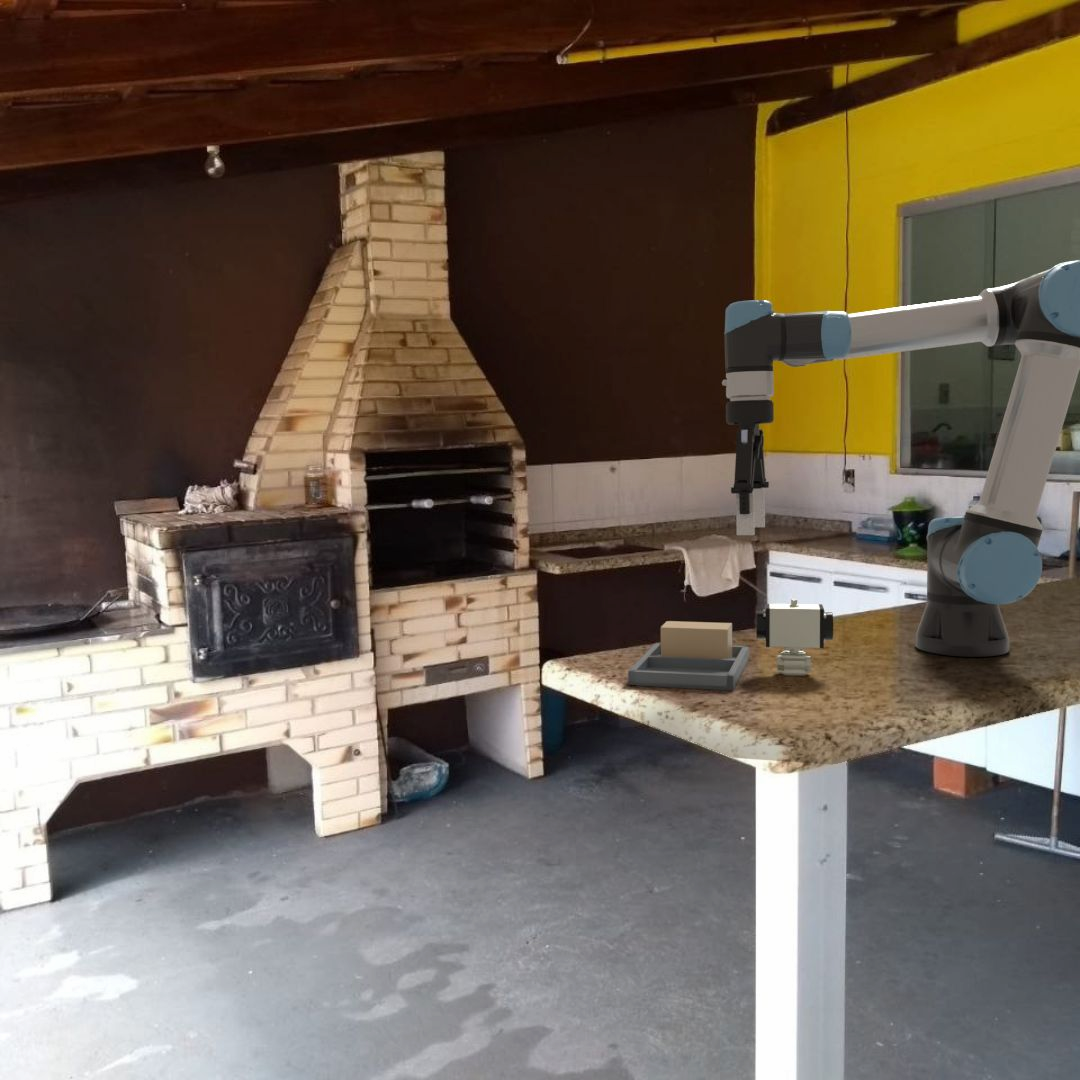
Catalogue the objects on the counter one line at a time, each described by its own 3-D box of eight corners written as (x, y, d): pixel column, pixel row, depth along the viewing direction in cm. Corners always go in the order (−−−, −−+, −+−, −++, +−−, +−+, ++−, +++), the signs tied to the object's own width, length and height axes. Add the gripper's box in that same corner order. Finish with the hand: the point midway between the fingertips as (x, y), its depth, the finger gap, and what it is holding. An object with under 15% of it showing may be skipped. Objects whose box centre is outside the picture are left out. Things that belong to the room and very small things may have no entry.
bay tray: (749, 658, 179) (749, 620, 178) (733, 690, 157) (733, 647, 156) (656, 654, 183) (655, 617, 183) (628, 685, 161) (627, 643, 161)
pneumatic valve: (833, 678, 163) (833, 602, 162) (756, 676, 166) (756, 601, 164) (830, 670, 169) (831, 596, 168) (756, 668, 171) (756, 595, 170)
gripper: (737, 402, 182) (738, 524, 184) (713, 398, 158) (715, 538, 160) (781, 400, 179) (782, 524, 181) (764, 396, 156) (765, 538, 158)
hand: (751, 531), depth 171 cm, fingers open, 13 cm apart
